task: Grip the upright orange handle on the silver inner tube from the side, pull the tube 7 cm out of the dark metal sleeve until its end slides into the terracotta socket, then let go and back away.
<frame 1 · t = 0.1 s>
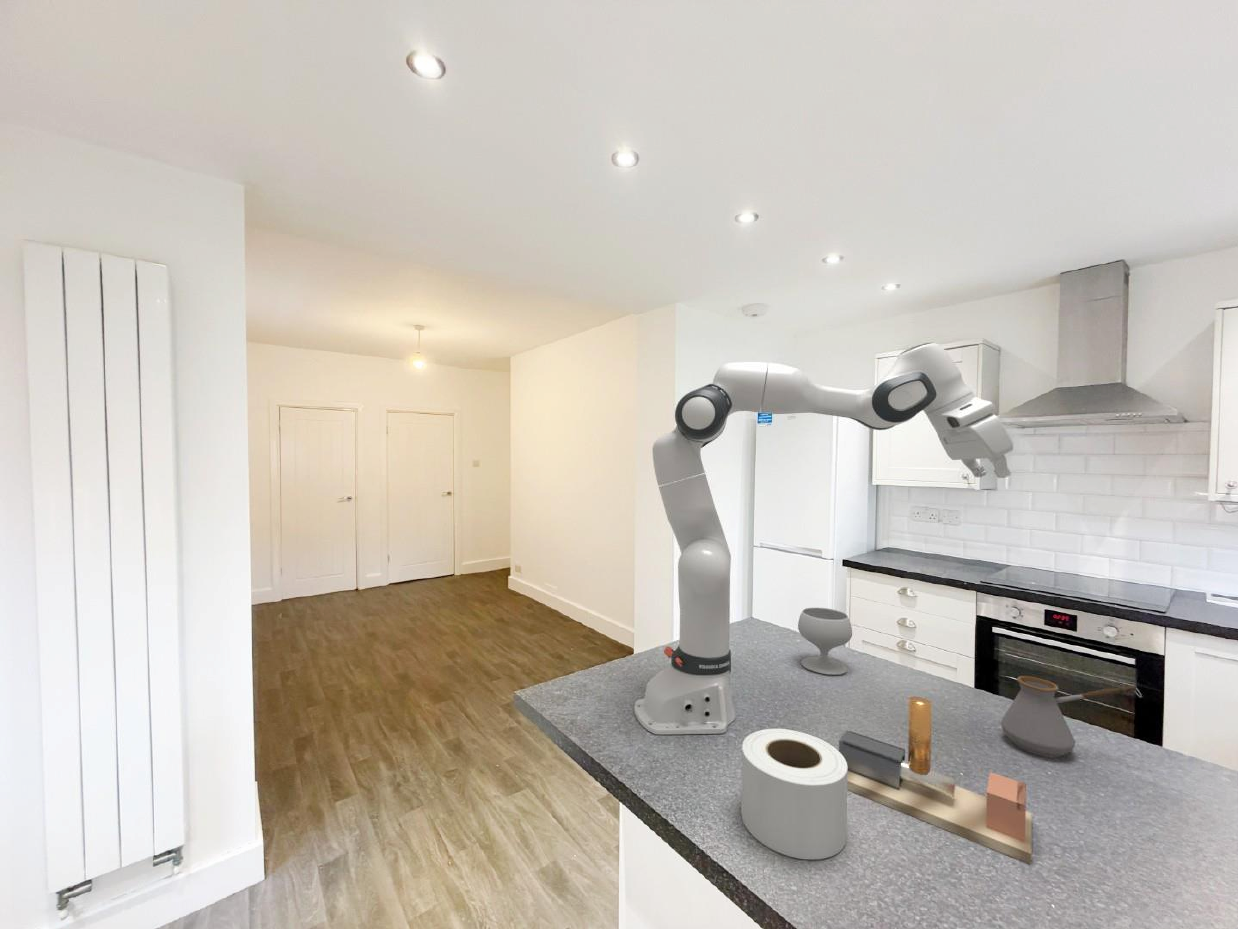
hand: (992, 476, 98), 54 cm above the countertop, tool tilted 30°, fingers open, 8 cm apart
toilet paper roll: (791, 823, 77), on the countertop
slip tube: (900, 736, 85), point 9 cm above the countertop, slide at 0.0 cm
coffee pot: (1067, 753, 98), on the countertop
chalice: (823, 668, 138), on the countertop
socket: (1006, 805, 76), on the board, point 4 cm above the countertop
board: (901, 792, 85), on the countertop
sleeve: (871, 758, 88), on the board, point 4 cm above the countertop
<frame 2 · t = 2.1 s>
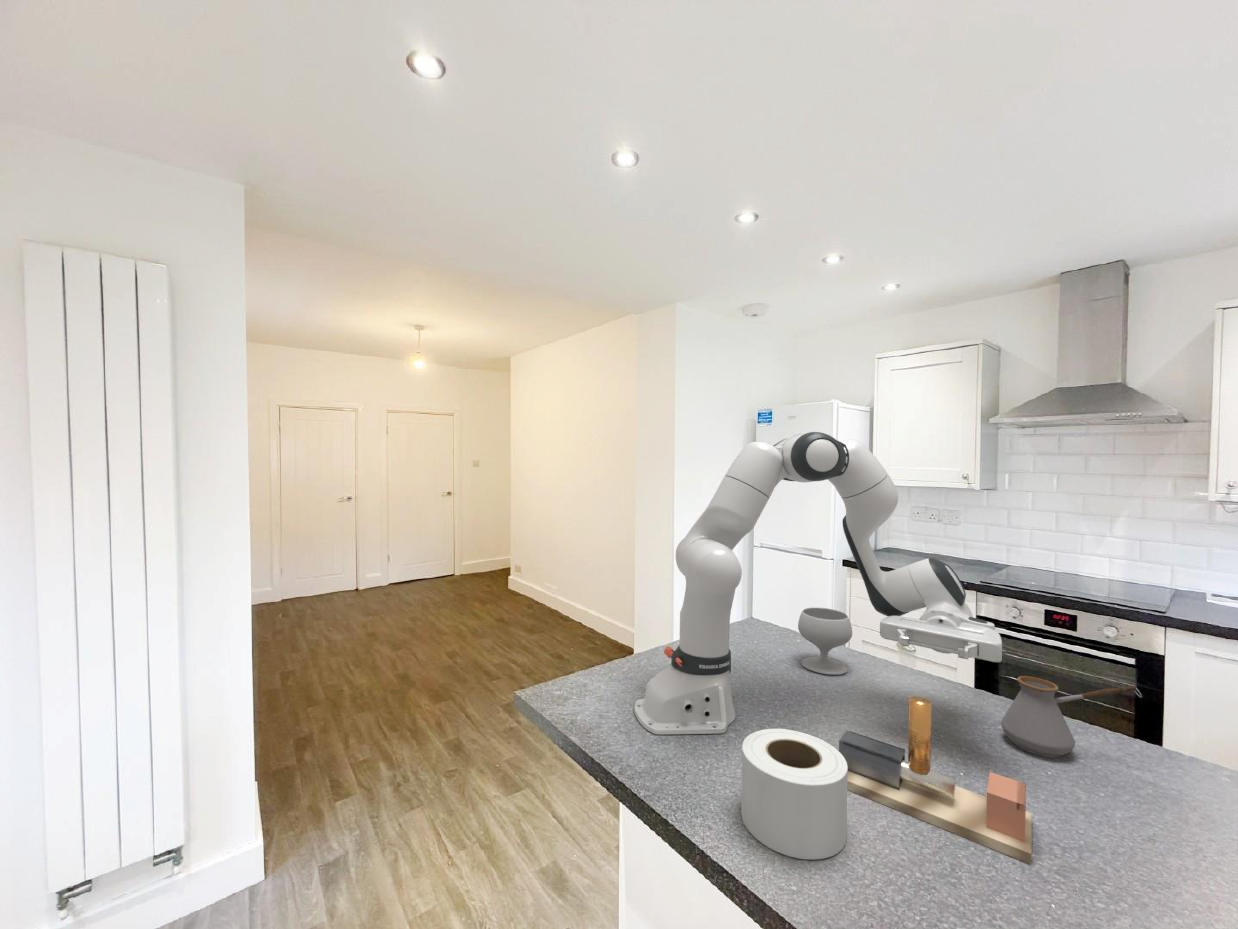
hand: (932, 647, 92), 22 cm above the countertop, tool horizontal, fingers open, 8 cm apart
nothing on the countertop moved.
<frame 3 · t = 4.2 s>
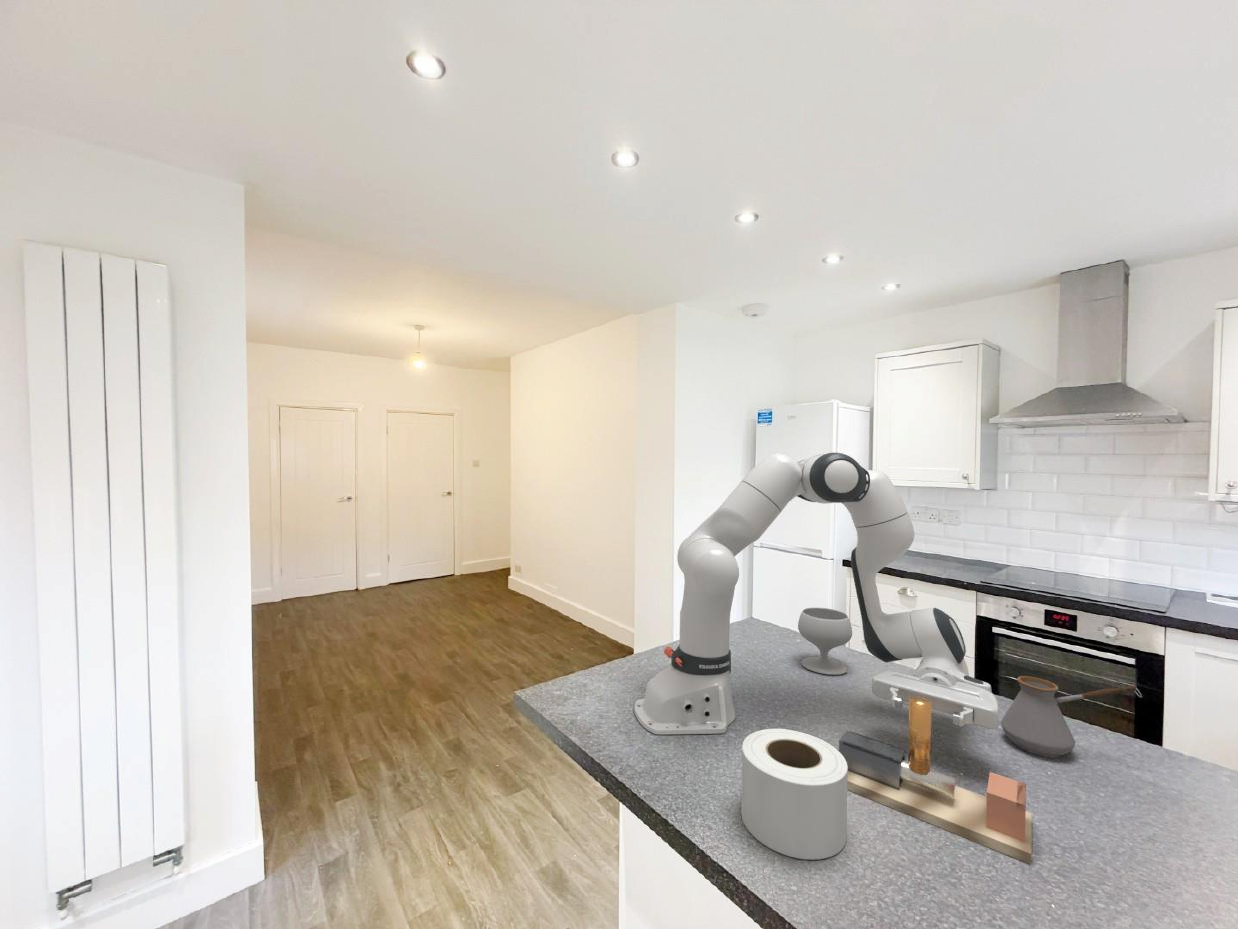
hand: (925, 712, 88), 12 cm above the countertop, tool horizontal, fingers open, 8 cm apart
nothing on the countertop moved.
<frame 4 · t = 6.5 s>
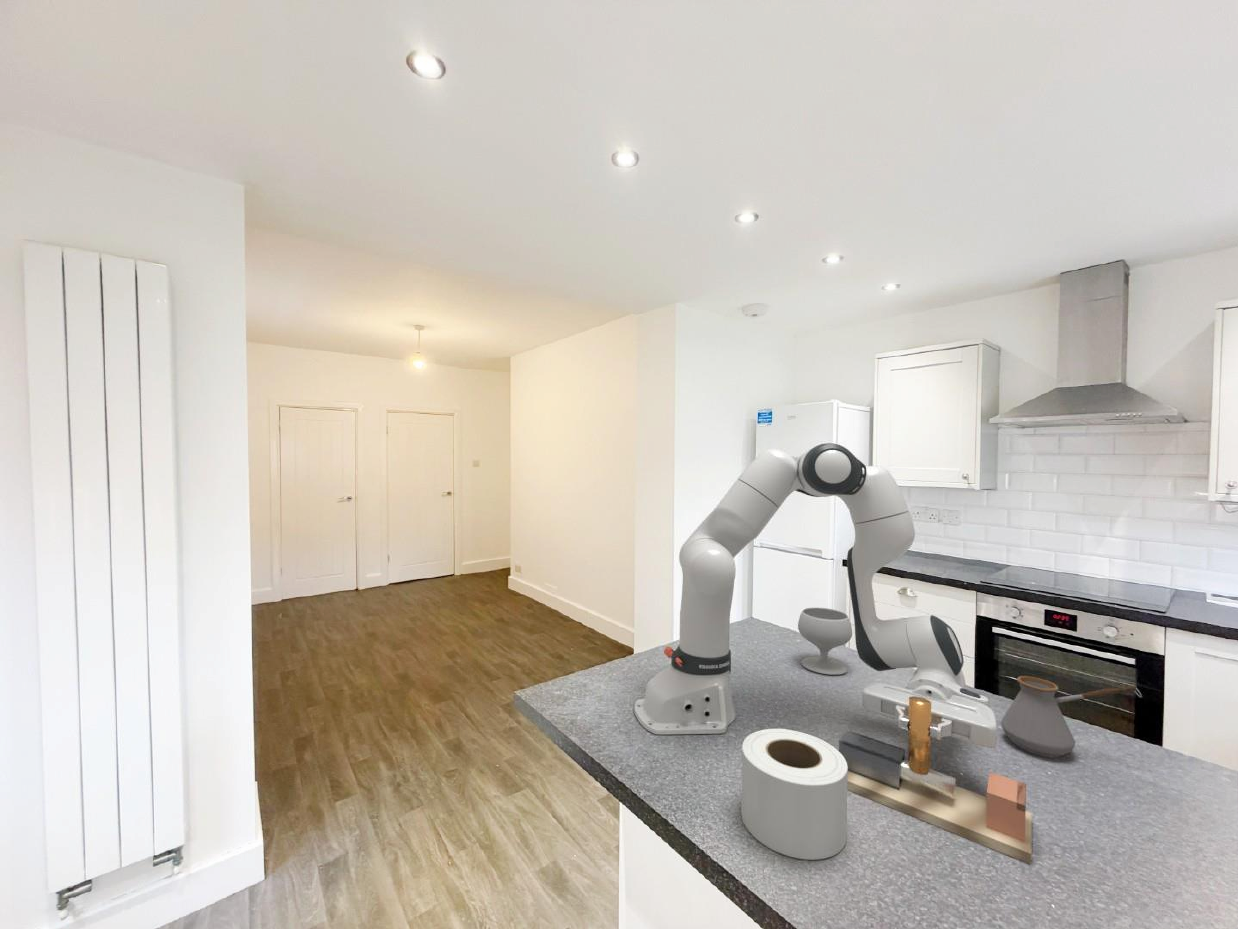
hand: (918, 729, 82), 12 cm above the countertop, tool horizontal, fingers closed on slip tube, 3 cm apart
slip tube: (900, 736, 85), point 9 cm above the countertop, slide at 0.0 cm, touching gripper
everything else where it was.
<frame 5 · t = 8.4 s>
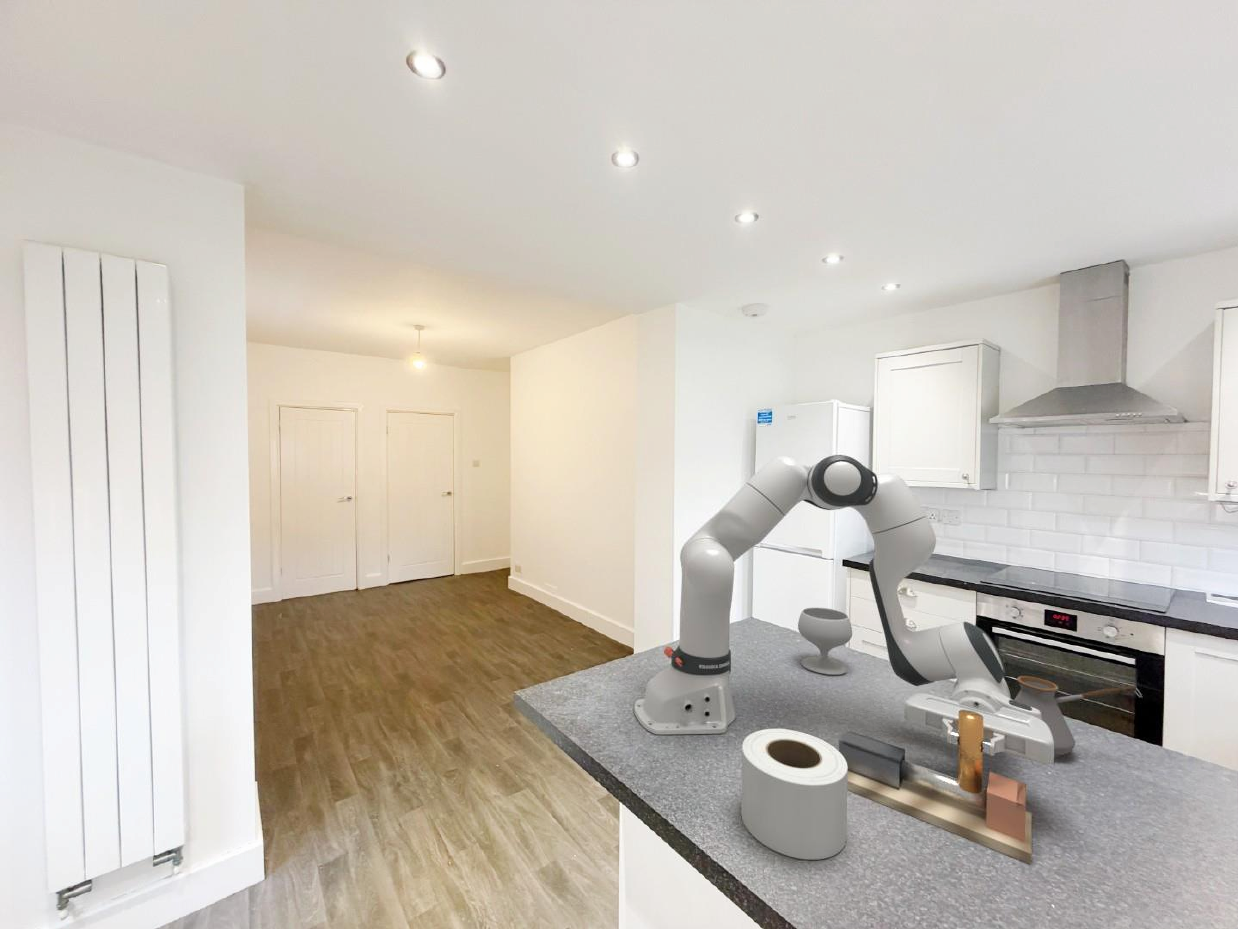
hand: (970, 744, 78), 12 cm above the countertop, tool horizontal, fingers closed on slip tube, 3 cm apart
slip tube: (949, 752, 80), point 9 cm above the countertop, slide at 7.0 cm, touching gripper
everything else where it was.
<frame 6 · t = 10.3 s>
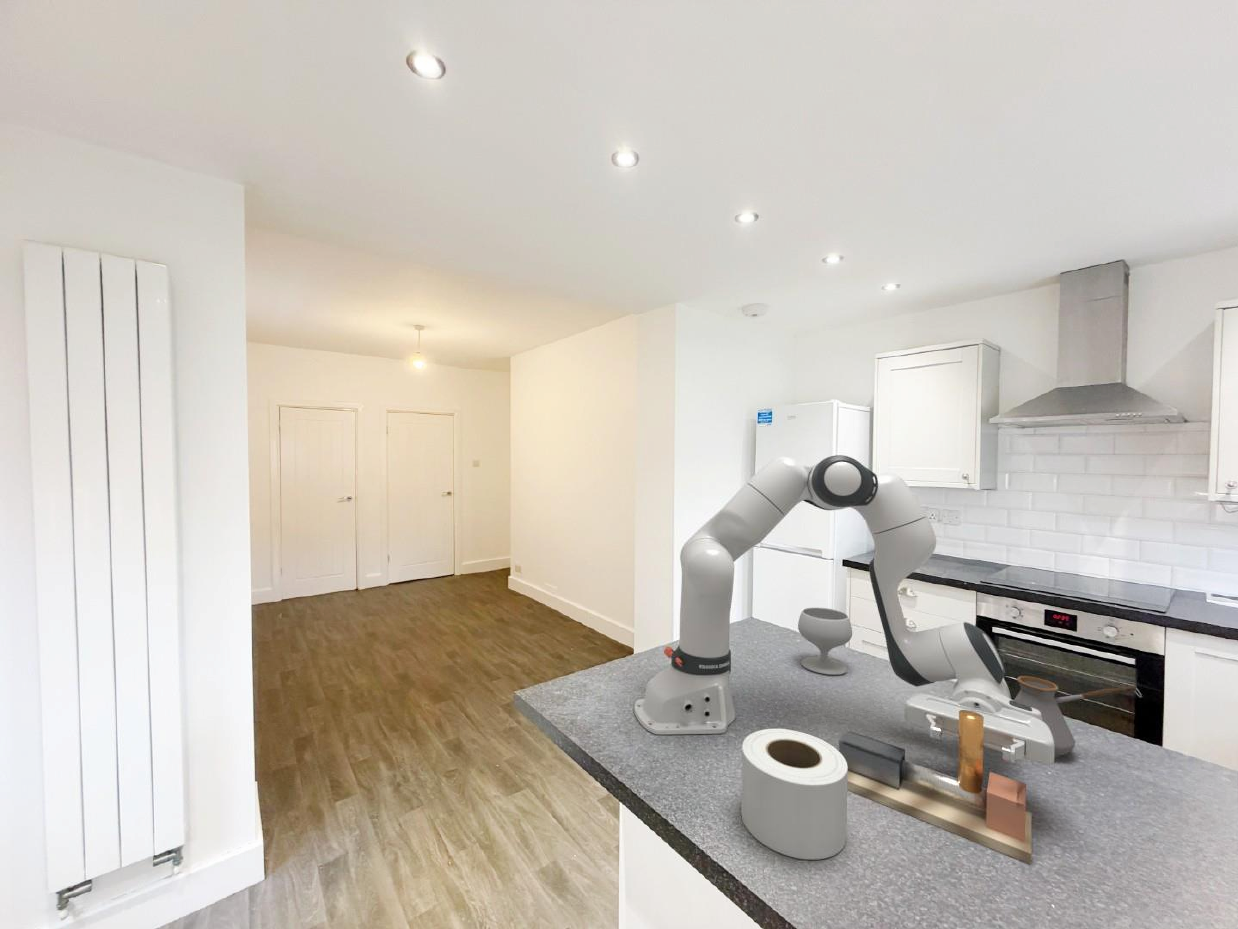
hand: (970, 745, 78), 12 cm above the countertop, tool horizontal, fingers open, 8 cm apart
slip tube: (949, 752, 80), point 9 cm above the countertop, slide at 7.0 cm
everything else where it was.
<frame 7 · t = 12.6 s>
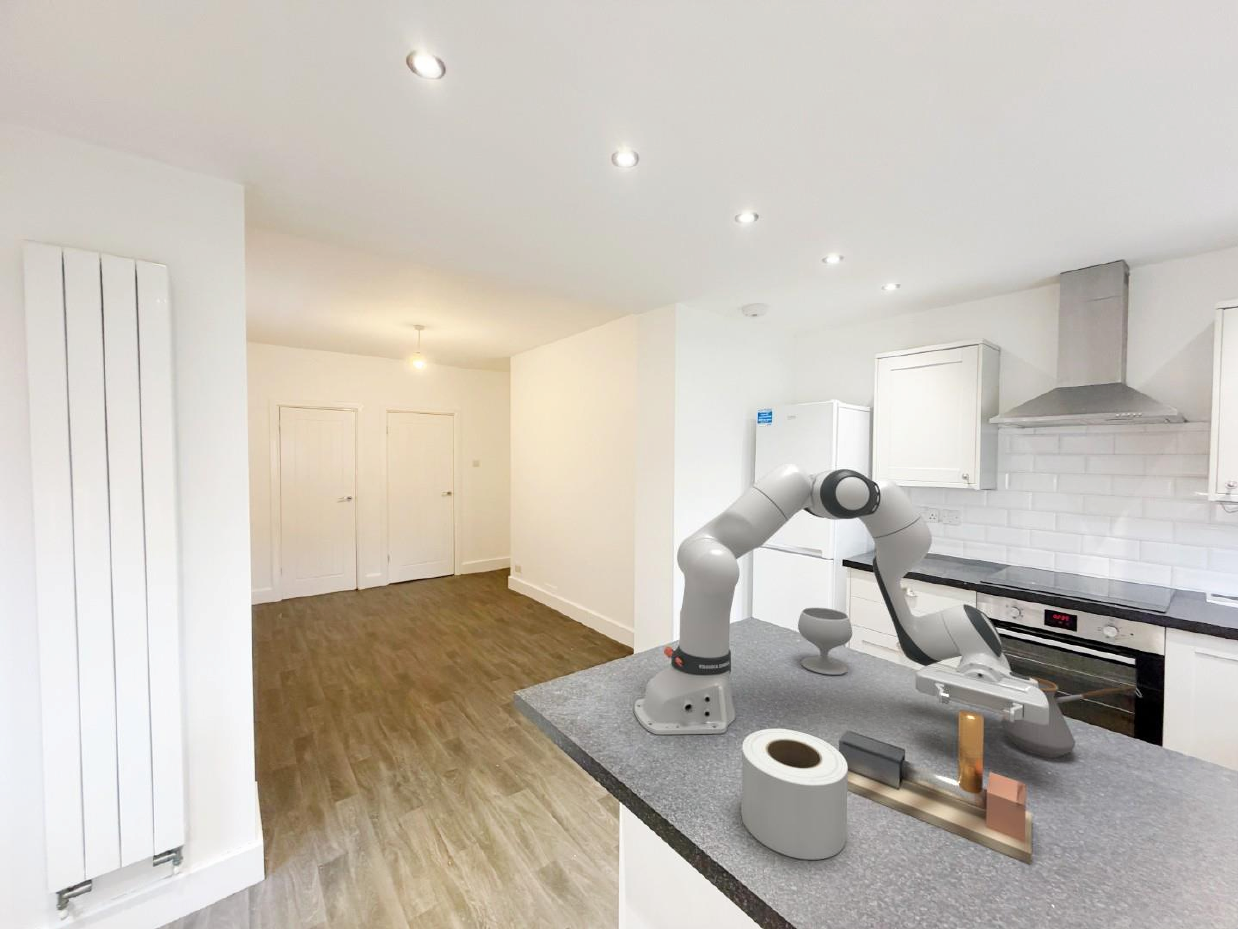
hand: (974, 707, 88), 13 cm above the countertop, tool horizontal, fingers open, 8 cm apart
nothing on the countertop moved.
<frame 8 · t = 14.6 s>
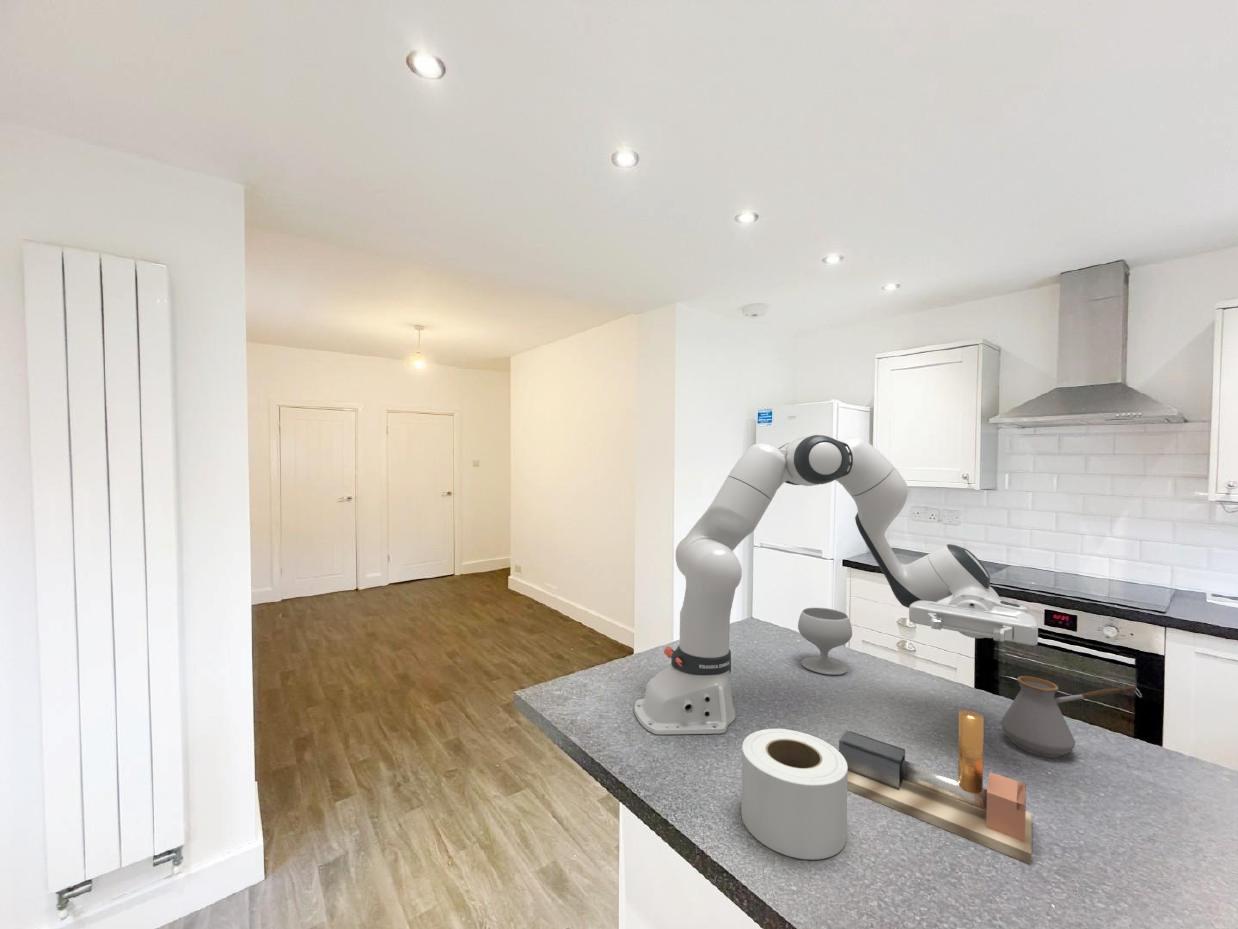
hand: (966, 630, 90), 26 cm above the countertop, tool horizontal, fingers open, 8 cm apart
nothing on the countertop moved.
at the end: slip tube slide at 7.0 cm; the gripper is holding nothing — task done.
